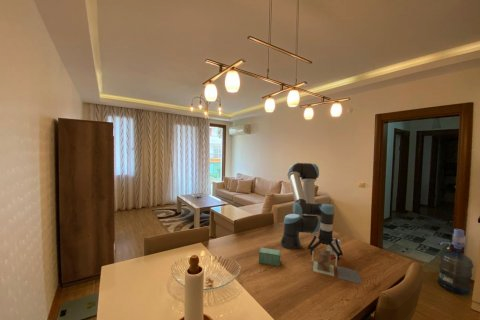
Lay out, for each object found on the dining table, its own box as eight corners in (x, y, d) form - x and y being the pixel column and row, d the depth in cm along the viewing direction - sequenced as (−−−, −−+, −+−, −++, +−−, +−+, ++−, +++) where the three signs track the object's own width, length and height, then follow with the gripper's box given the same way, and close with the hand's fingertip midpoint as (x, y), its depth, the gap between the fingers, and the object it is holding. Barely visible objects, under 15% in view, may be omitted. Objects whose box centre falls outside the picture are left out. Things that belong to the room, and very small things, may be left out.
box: (279, 266, 133) (280, 255, 132) (258, 263, 135) (258, 251, 135) (280, 260, 140) (280, 249, 139) (259, 257, 143) (260, 246, 142)
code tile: (312, 271, 129) (312, 270, 129) (313, 261, 141) (313, 260, 141) (334, 276, 125) (334, 276, 125) (333, 265, 137) (333, 265, 137)
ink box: (330, 258, 146) (331, 241, 145) (325, 255, 150) (326, 238, 150) (340, 257, 148) (341, 240, 148) (335, 253, 153) (336, 237, 152)
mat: (338, 278, 123) (338, 278, 123) (336, 266, 136) (336, 266, 136) (361, 284, 118) (361, 283, 118) (358, 271, 131) (358, 271, 131)
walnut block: (317, 269, 131) (318, 253, 130) (317, 263, 137) (318, 248, 137) (329, 272, 128) (330, 256, 128) (329, 266, 135) (330, 251, 134)
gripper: (304, 227, 133) (302, 260, 134) (349, 235, 124) (346, 270, 124) (305, 224, 140) (303, 255, 141) (347, 231, 130) (345, 264, 131)
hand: (323, 262), depth 132 cm, fingers open, 13 cm apart
